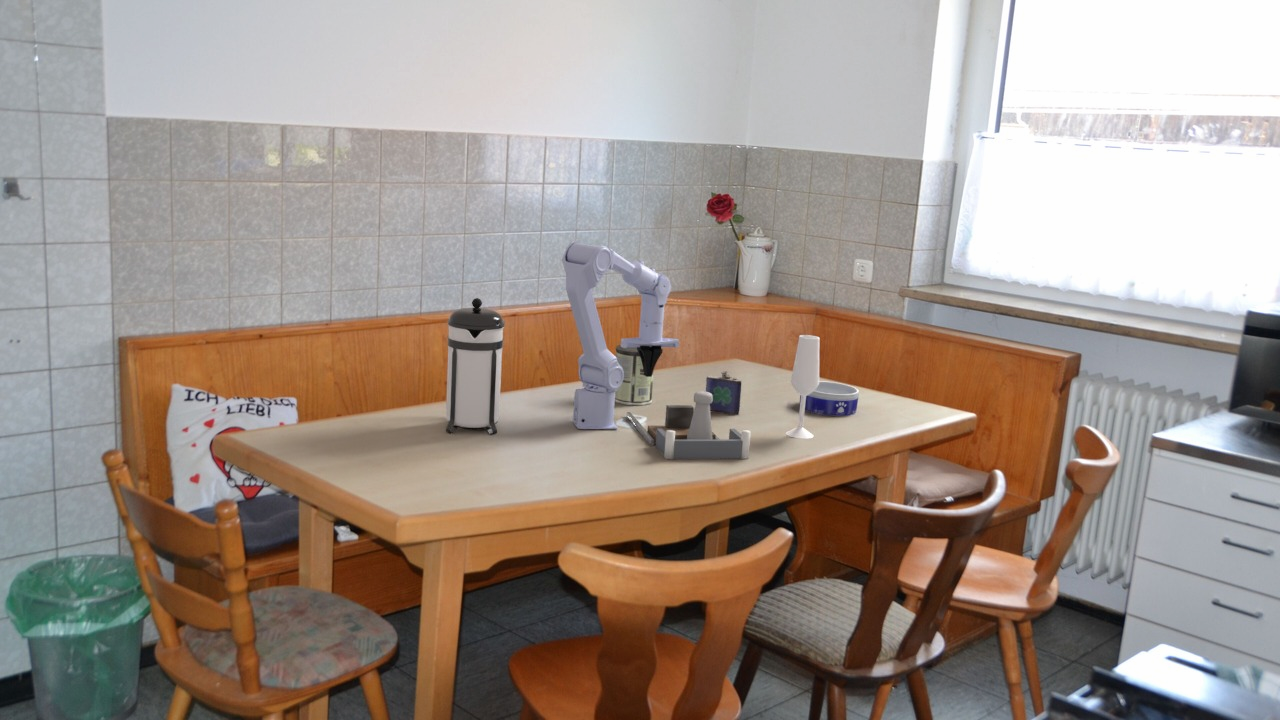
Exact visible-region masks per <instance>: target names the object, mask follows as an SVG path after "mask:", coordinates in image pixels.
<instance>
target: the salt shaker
mask: <svg viewBox="0 0 1280 720" xmlns="http://www.w3.org/2000/svg"><path fill="white" fill-rule="evenodd" d="M712 401H713V395H712V394H711V393H709V392H706V390H705V391H704V390H701V391H696V392H694V394H693V402H694V403H695V405H694V412H693V417H692V421H691V425H690V428H689V432H688V435H687V439H713V438H712V432H713V429H712V418H711V417H712V416H711V412H710V404H711V403H712Z"/></svg>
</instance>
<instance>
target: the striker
mask: <svg viewBox="0 0 1280 720" xmlns="http://www.w3.org/2000/svg"><path fill="white" fill-rule="evenodd" d="M665 406H666V407H665V418H664V419H665V422H664V425H647V430H646V431H647V432H648V433H649V434H650V435H651V437H652V438H653V439H654V440H655V442H654V444H656V433H657V429H663V430H664V431H665V432H666V431H667V430H673V431H675V439H687V435H688V432H689V428H690V425H691V421H692V417H693V413H694V409H695V406H693V405H687V404H686V405H675V404H672V405H671V404H669V405H668V404H666V405H665ZM716 436H717V435H716V434H715V433H714V432H713V431H712V438H713V439H715V438H716Z"/></svg>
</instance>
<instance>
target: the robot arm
mask: <svg viewBox="0 0 1280 720" xmlns="http://www.w3.org/2000/svg"><path fill="white" fill-rule="evenodd" d="M561 261H562V265H563V269H564V272H565V290H566V294H567V298H568V302H569V306H570V309H571V312H572V314H573V315H572V316H573V320H574V322H575V326H576V330H577V333H578V337H579V340H580V345H581V347H582V352H583V353H582V354H581V355H580V356H579V357H578V359H577V363H578V379H579V380H580V382H581V383H582V387H583V388H576V389H575V391H574V400H573V414H572V417H573V418H572V421H573V423H574V425H575V426H576V428H577V429H578V430H618V426H617V424H616V423H615V422H614V416H615V403H616V402H615V391H617V390H618V388H619V387H620V386H621V384H622V382H623V378H624V372H623V368H622V367H621V366H620V365H619V363H618V361H617V358H616V355H614V354H613V353H612V352H611V351H610V350H609V349H608V346H607V344H606V339H605V335H604V332H603V327H602V324H601V320H600V316H599V312H598V309H597V306H596V305H597V304H596V302H595V298H594V294H593V289H594V288H595V287H598V285H599V284H600V283H601V281H602V280H603V278H604V277H605V275H606V274H607V272H608V271H609V270H612V271H614V272H616V273H618V274H620V275H622V280H623V281H624V282H625V283H626V284H628V285H630V286H631V287H633V288H635V289H636V290H637V292H638V293H639V295H641V300H640V319H639V329H638V337H628V338H627V337H626V338H620V345H621V347H623V348H627V347H637V350H638V352H639V355H640V358H641V361H642V365H643V370H644V375H645V376H646V377H652V373H653V374H654V372H653V370H654V371H655V367H656V364H657V362H658V360H659V359H660V357H661V356H662V354H663V348H675V349H676V348H677V349H679V348H680V347H679V345H680V340H679V339H677V338H669V337H663V333H664V332H663V330H664V329H663V328H664V318H665V305H667V302H668V296H669V295H670V293H671V290H672V285H671V281H670V279H669V277H668V276H667V275H666V274H662V273H657V272H656V269H655V268H652V267H648V266H646V265H645V262H644V261H643V260H640V259H637V260H631V261H629V260H627V259H626V258H624V257H623V256H622V255H619V254H618V253H617V252H615V251H614V249H612V248H609V247H607V246H606V245H594V244H587V243H584V242H583V243H582V242H579V241H573V242H570V243H569V244H568V245H567V246H566V248H565V251H564V253H563V256H562V257H561Z"/></svg>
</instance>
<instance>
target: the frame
mask: <svg viewBox="0 0 1280 720" xmlns="http://www.w3.org/2000/svg"><path fill="white" fill-rule="evenodd" d="M750 442H751V430H747V429H743V430H741V432H739V431H738V430H737V429H736V428H729V432H728V438H727V439H725V438H724V439H720V438H719V439H675V431H673V430H667V431H666V432H665V431H664V430H663V429H657V433H656V443H655V448H657V449H658V450H659V452H660V453H661V454H662V455H663V458H664V459H665V460H677V459H678V460H680V459H682V460H683V459H684V460H691V459H692V460H695V459H700V460H701V459H705V460H706V459H707V460H708V459H709V460H711V459H713V458H714V459H720V458H722V459H724V458H726V459H728V458H729V459H743V460H747V459H749V457H750V446H751V443H750ZM724 460H725V459H724Z"/></svg>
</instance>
